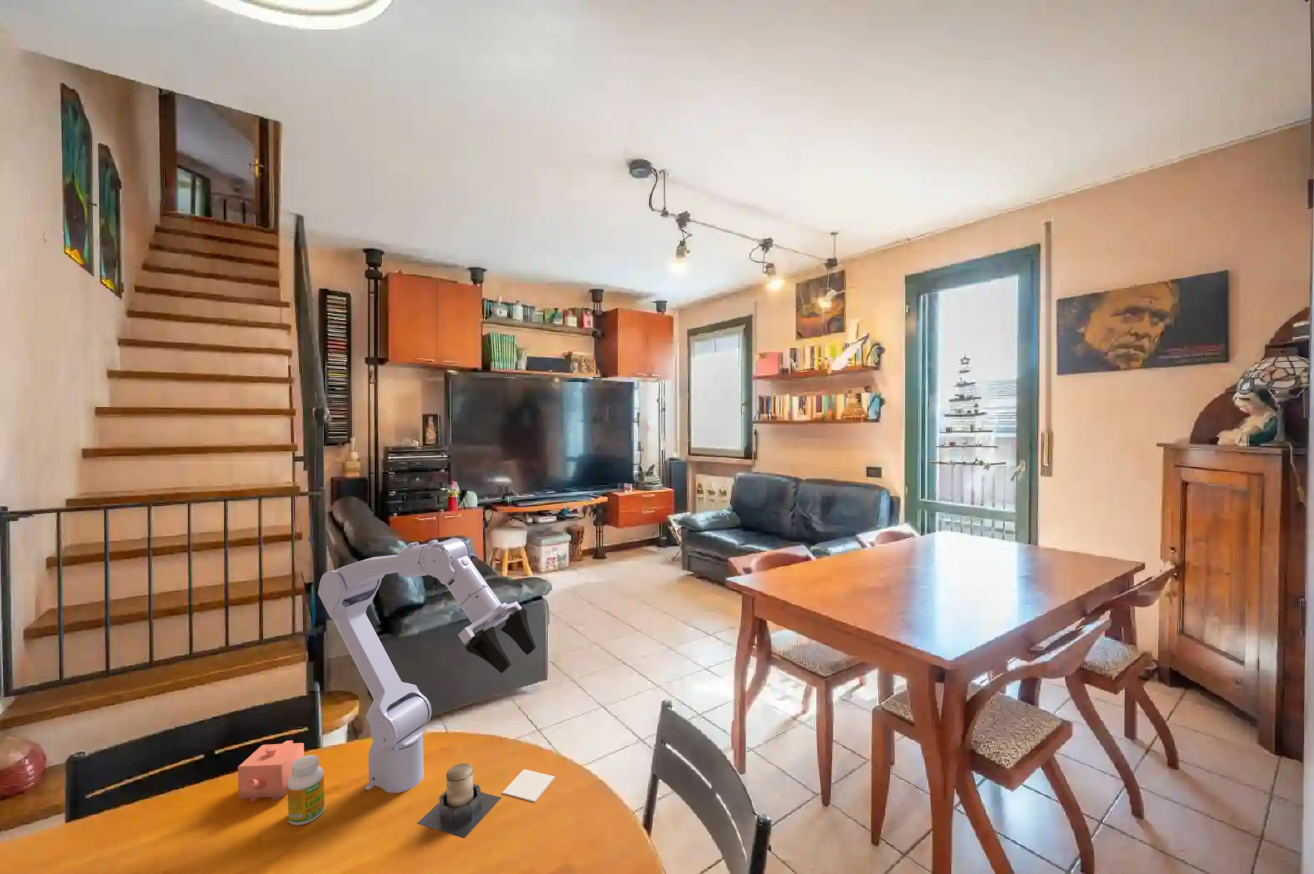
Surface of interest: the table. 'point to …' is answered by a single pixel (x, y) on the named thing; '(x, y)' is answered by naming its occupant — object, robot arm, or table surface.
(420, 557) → the robot arm
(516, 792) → the tile pad
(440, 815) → the housing
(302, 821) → the supplement bottle
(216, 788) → the table surface
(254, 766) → the pink cube teapot
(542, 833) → the table surface
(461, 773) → the tan cylinder
